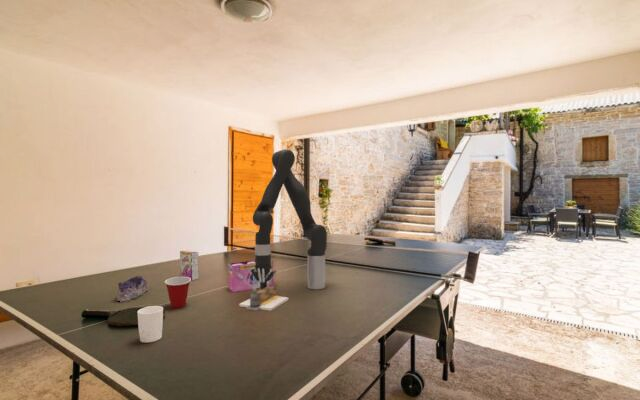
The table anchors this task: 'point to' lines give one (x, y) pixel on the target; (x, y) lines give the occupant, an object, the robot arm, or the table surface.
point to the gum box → (244, 276)
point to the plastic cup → (177, 290)
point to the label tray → (265, 303)
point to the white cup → (150, 323)
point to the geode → (132, 288)
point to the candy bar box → (189, 264)
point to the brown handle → (262, 294)
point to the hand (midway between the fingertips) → (263, 289)
